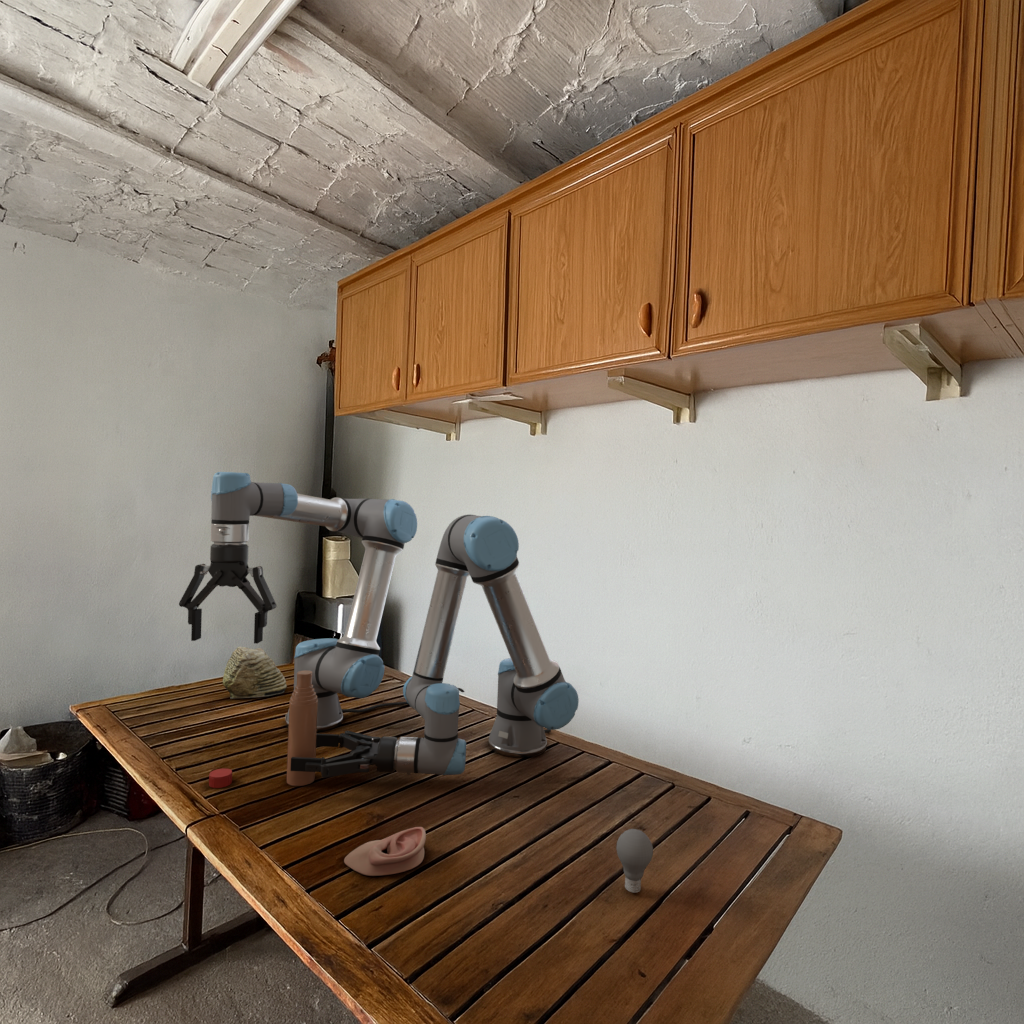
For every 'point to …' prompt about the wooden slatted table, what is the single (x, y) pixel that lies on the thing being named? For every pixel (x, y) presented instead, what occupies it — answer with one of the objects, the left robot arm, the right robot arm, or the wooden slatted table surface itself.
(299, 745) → the bottle
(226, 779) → the cap
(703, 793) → the wooden slatted table surface
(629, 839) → the light bulb
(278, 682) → the fossil
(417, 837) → the anatomical model
